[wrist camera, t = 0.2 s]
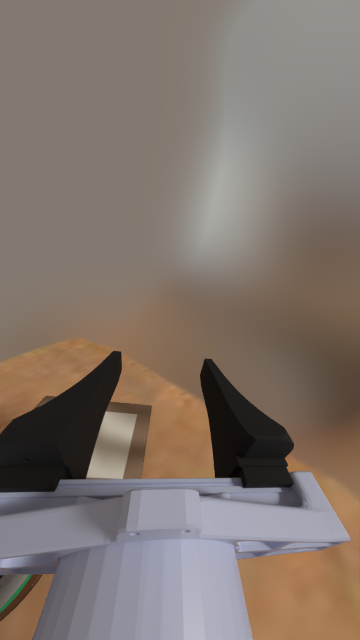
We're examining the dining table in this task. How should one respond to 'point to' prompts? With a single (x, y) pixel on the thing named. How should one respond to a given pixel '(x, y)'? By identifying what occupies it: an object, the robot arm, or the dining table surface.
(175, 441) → the dining table surface
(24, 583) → the food container
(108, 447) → the brown picture frame
